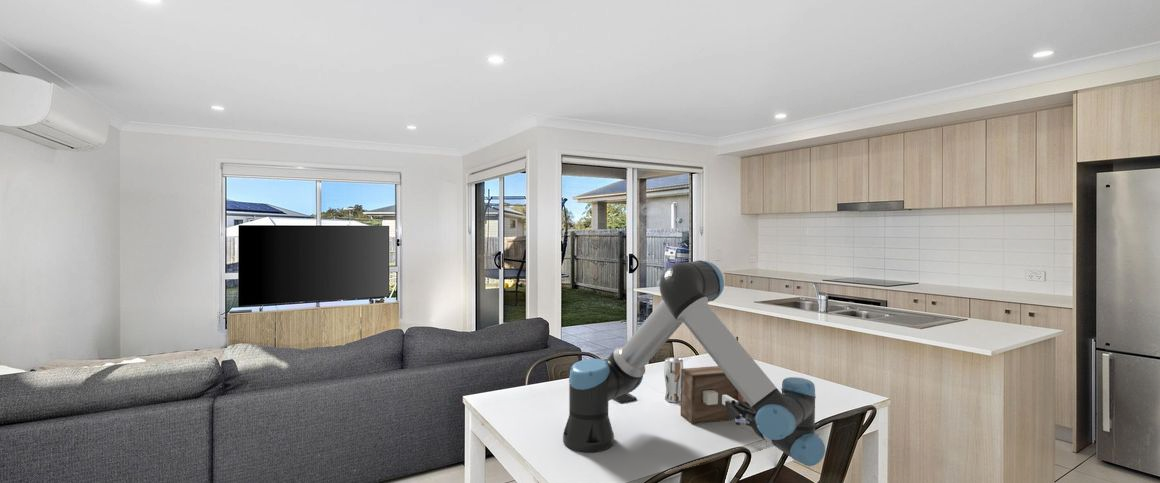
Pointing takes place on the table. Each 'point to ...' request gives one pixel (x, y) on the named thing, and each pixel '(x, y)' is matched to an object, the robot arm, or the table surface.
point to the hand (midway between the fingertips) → (724, 399)
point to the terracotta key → (740, 396)
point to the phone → (625, 398)
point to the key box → (692, 394)
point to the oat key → (709, 397)
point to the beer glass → (673, 379)
